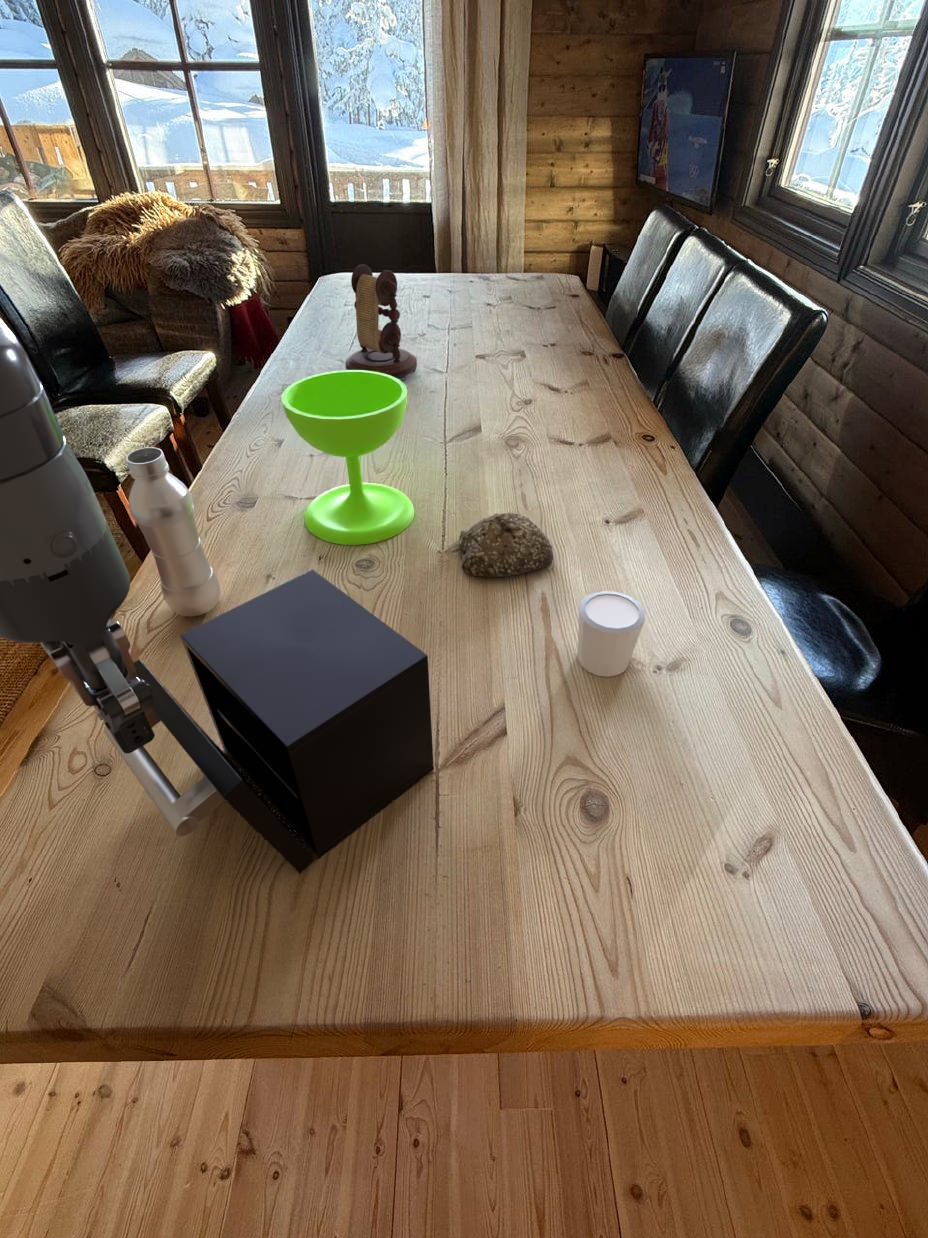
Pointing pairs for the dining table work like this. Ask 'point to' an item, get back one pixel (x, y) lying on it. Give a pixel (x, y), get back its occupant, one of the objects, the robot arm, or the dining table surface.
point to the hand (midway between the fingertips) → (136, 741)
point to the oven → (316, 705)
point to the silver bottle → (171, 533)
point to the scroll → (374, 342)
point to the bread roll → (504, 546)
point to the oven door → (204, 779)
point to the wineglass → (351, 451)
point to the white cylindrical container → (608, 632)
